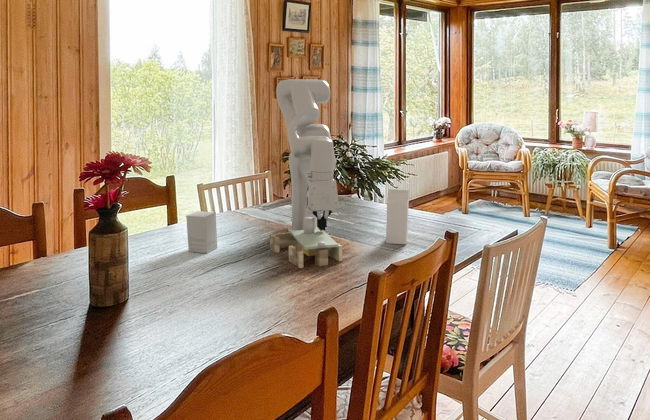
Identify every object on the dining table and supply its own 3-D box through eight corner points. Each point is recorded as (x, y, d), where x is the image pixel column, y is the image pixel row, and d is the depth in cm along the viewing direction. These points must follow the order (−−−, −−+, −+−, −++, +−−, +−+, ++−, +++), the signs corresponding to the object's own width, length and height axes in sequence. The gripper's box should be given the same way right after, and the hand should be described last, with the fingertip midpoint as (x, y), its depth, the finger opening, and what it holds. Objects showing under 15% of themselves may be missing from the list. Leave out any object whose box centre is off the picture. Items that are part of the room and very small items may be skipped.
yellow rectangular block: (300, 251, 186) (300, 243, 185) (309, 250, 187) (309, 241, 187) (308, 256, 181) (308, 248, 180) (317, 255, 182) (317, 246, 182)
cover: (290, 233, 188) (290, 216, 187) (321, 230, 191) (321, 214, 190) (305, 250, 168) (305, 232, 167) (339, 247, 171) (339, 229, 170)
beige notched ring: (270, 248, 188) (269, 228, 187) (309, 242, 195) (309, 223, 194) (302, 269, 167) (301, 247, 166) (344, 262, 174) (344, 240, 173)
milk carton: (406, 244, 193) (408, 191, 189) (385, 243, 195) (387, 190, 191) (407, 239, 200) (409, 188, 196) (387, 238, 202) (389, 187, 197)
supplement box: (218, 247, 190) (216, 212, 187) (206, 253, 183) (205, 216, 180) (199, 245, 192) (197, 210, 189) (187, 251, 185) (185, 215, 182)
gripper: (302, 179, 177) (303, 234, 181) (346, 176, 181) (346, 230, 185) (297, 175, 184) (297, 228, 188) (339, 173, 188) (339, 225, 192)
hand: (321, 229), depth 187 cm, fingers closed
